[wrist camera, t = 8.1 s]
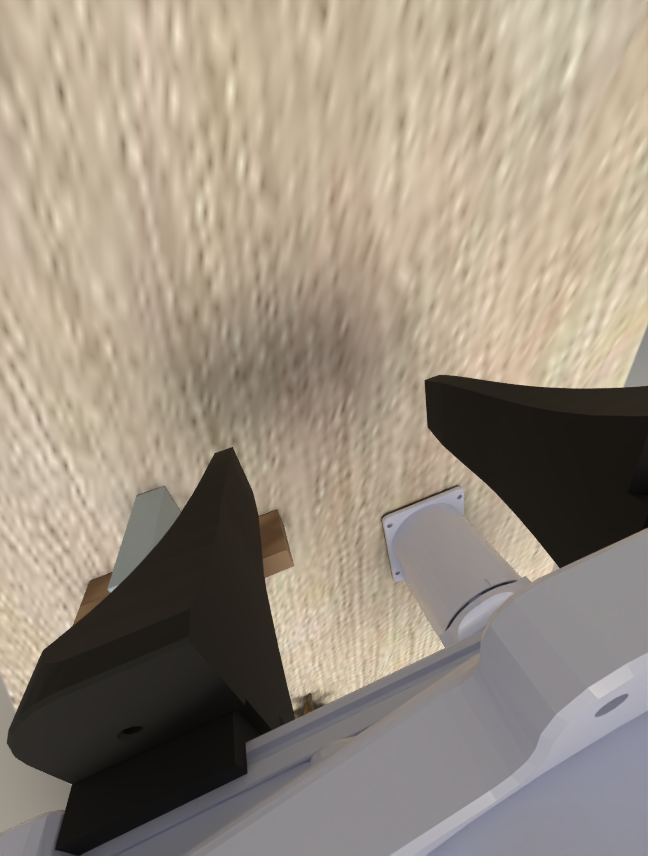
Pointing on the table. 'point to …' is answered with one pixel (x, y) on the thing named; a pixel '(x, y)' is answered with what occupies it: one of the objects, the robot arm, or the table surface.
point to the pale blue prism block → (144, 531)
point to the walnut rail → (272, 553)
